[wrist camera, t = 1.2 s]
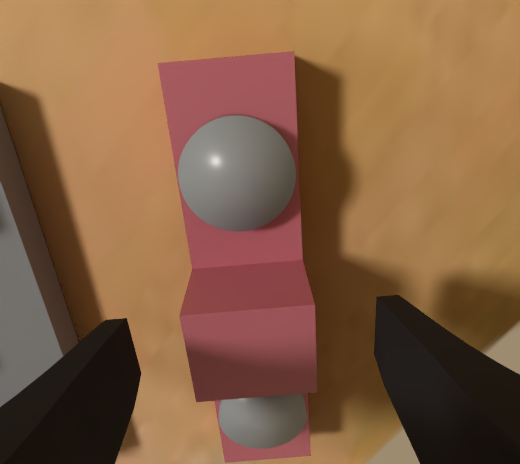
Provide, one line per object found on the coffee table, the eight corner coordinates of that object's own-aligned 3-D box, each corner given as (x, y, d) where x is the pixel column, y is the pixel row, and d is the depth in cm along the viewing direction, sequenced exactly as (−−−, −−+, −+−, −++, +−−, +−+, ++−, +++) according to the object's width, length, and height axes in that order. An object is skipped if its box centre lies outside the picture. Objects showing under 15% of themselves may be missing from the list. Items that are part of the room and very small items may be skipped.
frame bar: (304, 415, 18) (321, 521, 14) (227, 421, 18) (221, 529, 14) (287, 53, 12) (307, 47, 8) (171, 63, 12) (130, 63, 8)
